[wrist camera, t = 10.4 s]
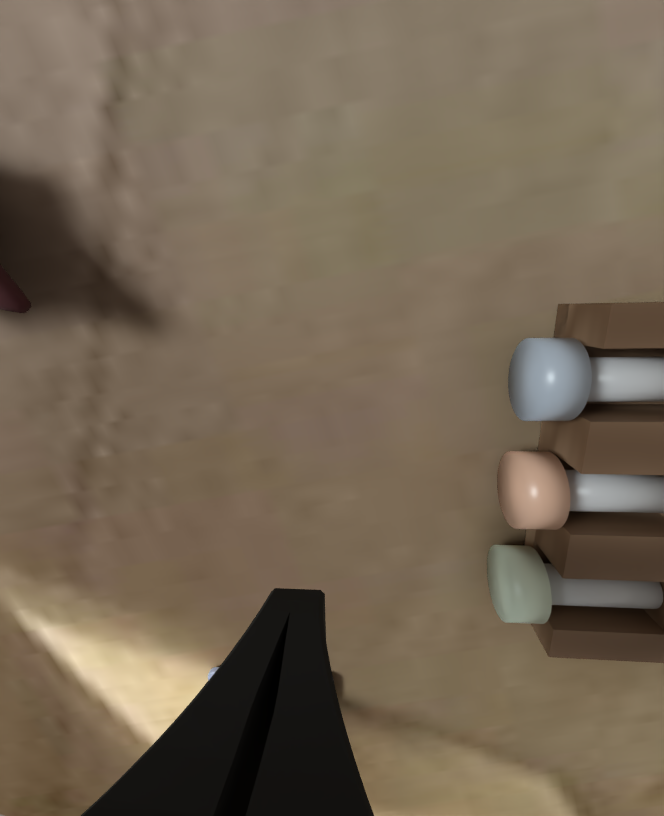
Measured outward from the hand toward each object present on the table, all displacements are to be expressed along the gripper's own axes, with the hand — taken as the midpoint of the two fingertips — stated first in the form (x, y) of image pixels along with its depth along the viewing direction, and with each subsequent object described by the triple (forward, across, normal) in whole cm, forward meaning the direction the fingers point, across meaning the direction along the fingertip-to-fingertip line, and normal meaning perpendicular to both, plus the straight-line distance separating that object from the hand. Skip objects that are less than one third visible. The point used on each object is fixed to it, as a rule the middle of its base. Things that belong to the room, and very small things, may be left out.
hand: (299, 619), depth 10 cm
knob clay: (+9, -12, 0) cm, 15 cm away
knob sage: (+9, -12, +5) cm, 16 cm away
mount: (+10, -13, 0) cm, 16 cm away
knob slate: (+9, -12, -5) cm, 16 cm away
